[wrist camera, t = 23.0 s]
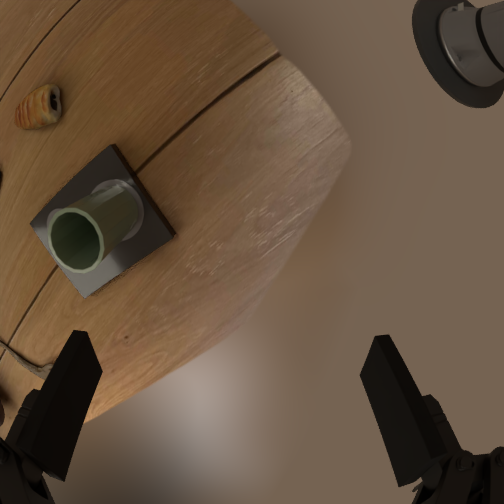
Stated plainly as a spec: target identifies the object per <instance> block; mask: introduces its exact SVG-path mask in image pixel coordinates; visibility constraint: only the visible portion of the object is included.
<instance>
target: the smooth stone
mask: <svg viewBox="0 0 504 504" xmlns="http://www.w3.org/2000/svg"><path fill="white" fill-rule="evenodd" d="M4 418H5V413H4V408H3V405H2V403H1V400H0V426H1V425H2V424H3V422H4Z"/></svg>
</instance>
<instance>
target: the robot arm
mask: <svg viewBox="0 0 504 504" xmlns="http://www.w3.org/2000/svg"><path fill="white" fill-rule="evenodd" d="M436 35H437V40H438V43H439V46H440V49H441V51H442V53H443V55H444V57H445V59H446V61H447V62H448V64H449V65H450V67H451V68H452V69H453V71H454V72H455V73H456V74H457V75H458V76H459V77H460V78H461V79H462V80H463V81H465V82H466V83H468V84H470V85H472V86H475V87H488V86H491V85H493V84H495V83H496V82H498V81H500V80H502V79H503V78H504V1H502V2H499V3H495V4H491V5H488V6H485V7H482V8H474V7H464V5H463V2H462V3H460V4H458V6H452V7H449V8H447V9H444V10H443V11H441V12H440V13H439V15H438V17H437V20H436ZM102 372H103V371H102V368H101V366H100V364H99V361H98V359H97V356H96V354H95V351H94V349H93V346H92V344H91V341H90V338H89V336H88V333H87V332H86V331H78V330H73V332H72V334H71V335H70V337H69V339H68V340H67V342H66V344H65V346H64V347H63V349H62V351H61V353H60V354H59V356H58V358H57V360H56V361H55V363H54V365H53V367H52V369H51V371H50V372H49V374H48V376H47V378H46V380H45V382H44V384H43V386H42V388H41V390H36V389H33V390H32V391H31V392H30V393H29V394H28V395H27V396H26V397H25V399H24V401H23V403H22V405H21V406H22V407H20V409H19V411H18V415H17V416H16V418H15V420H14V422H13V424H12V426H11V428H10V431H9V433H8V435H7V437H6V439H5V441H4V440H3V439H2V438H1V437H0V504H55V502H54V500H53V498H52V496H51V493H50V491H49V489H48V487H47V484H46V482H45V479H44V478H43V476H42V473H43V471H44V472H45V473H46V474H48V475H49V476H50V477H53V478H56V479H58V480H61V481H65V478H66V475H67V472H68V468H69V465H70V462H71V458H72V455H73V452H74V449H75V446H76V443H77V440H78V436H79V434H80V431H81V428H82V425H83V422H84V419H85V417H86V414H87V411H88V408H89V406H90V403H91V400H92V398H93V395H94V393H95V390H96V387H97V385H98V382H99V380H100V377H101V375H102ZM360 377H361V380H362V382H363V385H364V388H365V391H366V393H367V396H368V399H369V401H370V404H371V407H372V409H373V412H374V415H375V418H376V421H377V423H378V426H379V429H380V432H381V435H382V438H383V441H384V443H385V446H386V449H387V452H388V455H389V458H390V461H391V465H392V468H393V471H394V474H395V477H396V480H397V483H398V487H401V486H404V485H407V484H410V483H413V482H415V481H416V480H417V479H419V478H420V477H421V478H422V480H423V481H422V482H421V483H420V484H419V485H417V486H416V487H415V488H414V489H413V491H412V492H415V491H416V490H417V489H418V491H417V493H416V496H415V498H414V500H413V502H412V504H504V447H497V448H495V449H494V450H493V451H492V452H491V453H490V454H481V455H473V454H472V453H470V452H469V451H466V450H465V451H464V450H463V449H461V447H460V445H459V443H458V441H457V438H456V436H455V434H454V432H453V430H452V428H451V426H450V424H449V422H448V421H447V418H446V416H445V414H444V413H443V410H442V408H441V406H440V404H439V402H438V401H437V400H436V399H435V398H434V397H433V396H432V395H431V394H429V395H426V396H422V395H421V393H420V391H419V389H418V387H417V386H416V384H415V382H414V380H413V378H412V376H411V374H410V372H409V370H408V368H407V366H406V365H405V363H404V361H403V359H402V357H401V355H400V353H399V352H398V350H397V348H396V346H395V344H394V342H393V341H392V339H391V337H390V335H379V336H375V337H374V340H373V342H372V345H371V348H370V350H369V353H368V356H367V358H366V361H365V363H364V366H363V368H362V371H361V374H360Z"/></svg>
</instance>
